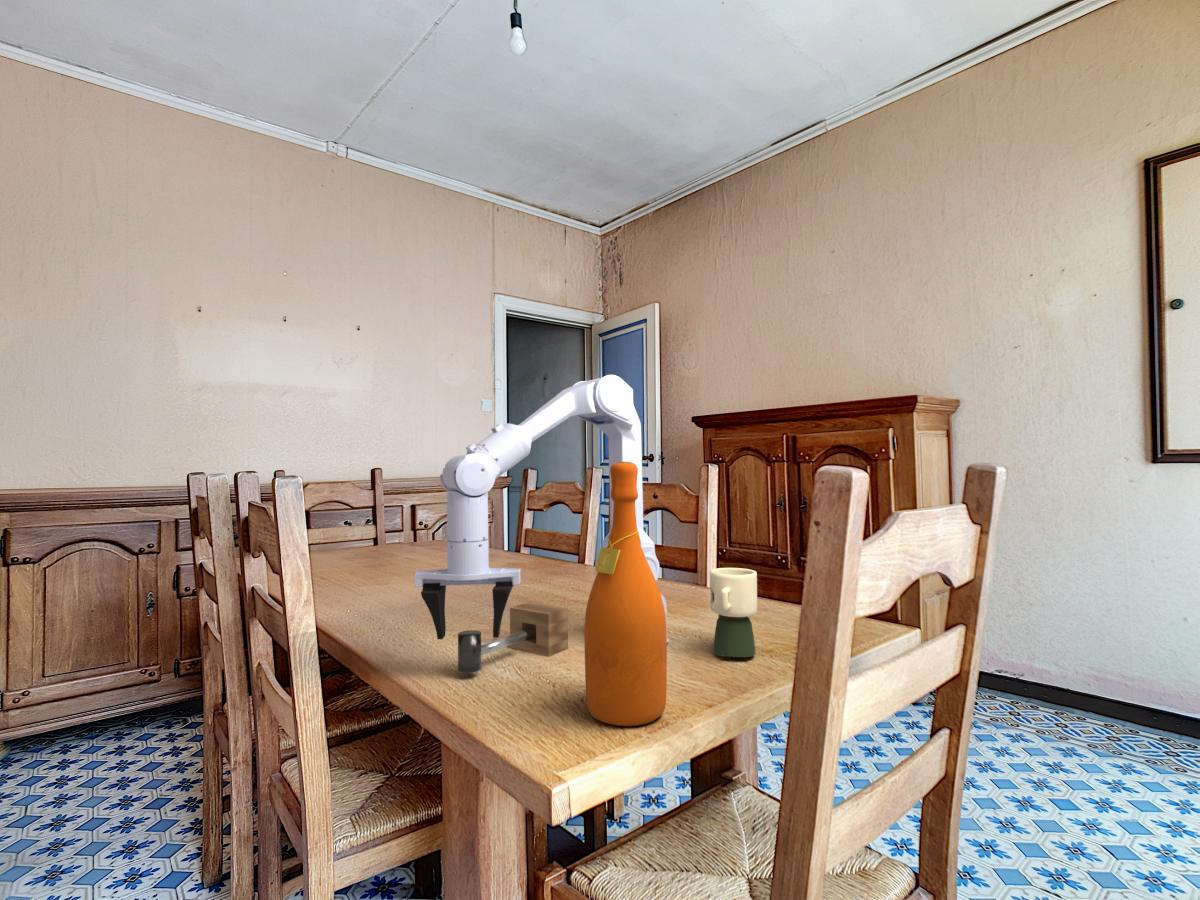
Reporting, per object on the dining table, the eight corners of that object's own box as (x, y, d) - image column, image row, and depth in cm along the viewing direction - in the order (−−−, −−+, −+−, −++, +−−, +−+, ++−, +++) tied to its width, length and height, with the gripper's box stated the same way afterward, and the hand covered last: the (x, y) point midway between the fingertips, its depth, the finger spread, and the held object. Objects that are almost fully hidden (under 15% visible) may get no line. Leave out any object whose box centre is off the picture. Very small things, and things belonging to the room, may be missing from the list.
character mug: (721, 643, 100) (720, 564, 100) (765, 649, 96) (764, 567, 97) (700, 663, 90) (699, 575, 90) (748, 670, 87) (747, 579, 87)
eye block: (530, 640, 102) (530, 601, 102) (568, 648, 98) (567, 607, 98) (510, 648, 98) (509, 607, 98) (548, 656, 94) (548, 614, 94)
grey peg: (516, 646, 96) (515, 614, 96) (531, 649, 94) (531, 617, 94) (453, 670, 85) (453, 634, 85) (469, 674, 83) (469, 637, 83)
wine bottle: (583, 698, 77) (581, 462, 78) (660, 695, 78) (657, 461, 78) (587, 732, 67) (584, 461, 68) (674, 729, 68) (671, 461, 69)
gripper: (521, 535, 90) (523, 627, 90) (422, 537, 89) (423, 630, 89) (517, 541, 83) (519, 641, 83) (410, 543, 82) (411, 644, 82)
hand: (469, 636), depth 85 cm, fingers open, 7 cm apart
